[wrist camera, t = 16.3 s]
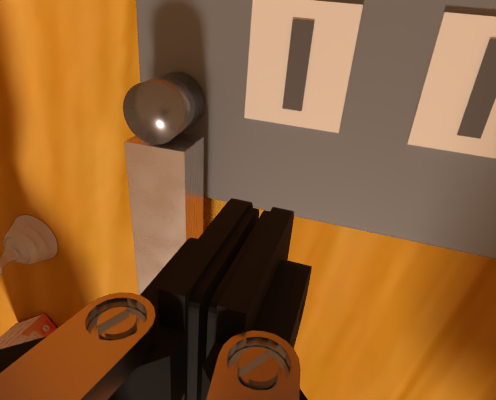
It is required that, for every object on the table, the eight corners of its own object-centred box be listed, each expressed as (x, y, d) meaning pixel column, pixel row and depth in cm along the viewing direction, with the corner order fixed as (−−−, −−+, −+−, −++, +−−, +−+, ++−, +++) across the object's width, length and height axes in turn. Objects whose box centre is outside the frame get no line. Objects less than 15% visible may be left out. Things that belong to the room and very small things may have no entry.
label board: (516, 255, 25) (523, 267, 24) (152, 179, 31) (143, 186, 30) (646, -7, 18) (664, -8, 17) (142, -44, 24) (129, -46, 23)
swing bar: (165, 332, 37) (144, 365, 34) (150, 68, 26) (117, 78, 22) (205, 344, 36) (188, 378, 33) (208, 75, 25) (182, 87, 21)
